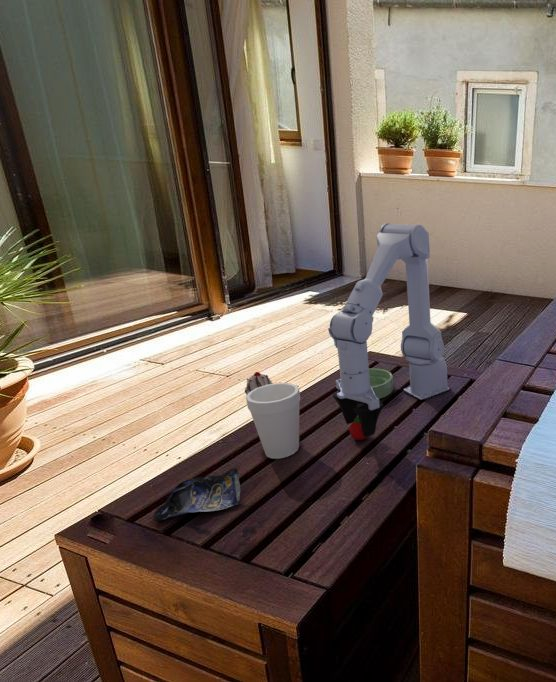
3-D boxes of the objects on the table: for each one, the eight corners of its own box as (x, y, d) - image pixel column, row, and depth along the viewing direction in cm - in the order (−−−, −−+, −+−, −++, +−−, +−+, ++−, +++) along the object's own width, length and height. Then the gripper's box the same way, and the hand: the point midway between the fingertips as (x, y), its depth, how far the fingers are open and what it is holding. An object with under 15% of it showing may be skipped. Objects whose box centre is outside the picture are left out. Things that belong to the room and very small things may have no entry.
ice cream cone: (287, 429, 104) (277, 367, 99) (273, 443, 99) (262, 378, 94) (262, 428, 105) (251, 366, 100) (247, 441, 100) (235, 376, 95)
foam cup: (246, 455, 95) (235, 397, 90) (284, 434, 102) (275, 379, 98) (280, 467, 91) (270, 407, 86) (316, 444, 99) (309, 388, 94)
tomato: (365, 431, 104) (363, 412, 103) (375, 438, 101) (374, 419, 100) (346, 438, 101) (344, 418, 100) (357, 446, 98) (355, 426, 97)
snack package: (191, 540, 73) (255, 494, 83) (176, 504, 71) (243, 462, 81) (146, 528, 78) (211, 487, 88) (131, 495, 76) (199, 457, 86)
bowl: (376, 377, 132) (375, 364, 131) (403, 392, 123) (402, 378, 122) (332, 391, 123) (330, 377, 122) (357, 408, 115) (355, 393, 113)
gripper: (319, 364, 98) (326, 422, 103) (354, 385, 89) (360, 448, 93) (350, 356, 103) (356, 412, 107) (386, 375, 93) (391, 435, 98)
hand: (360, 428), depth 100 cm, fingers open, 7 cm apart
